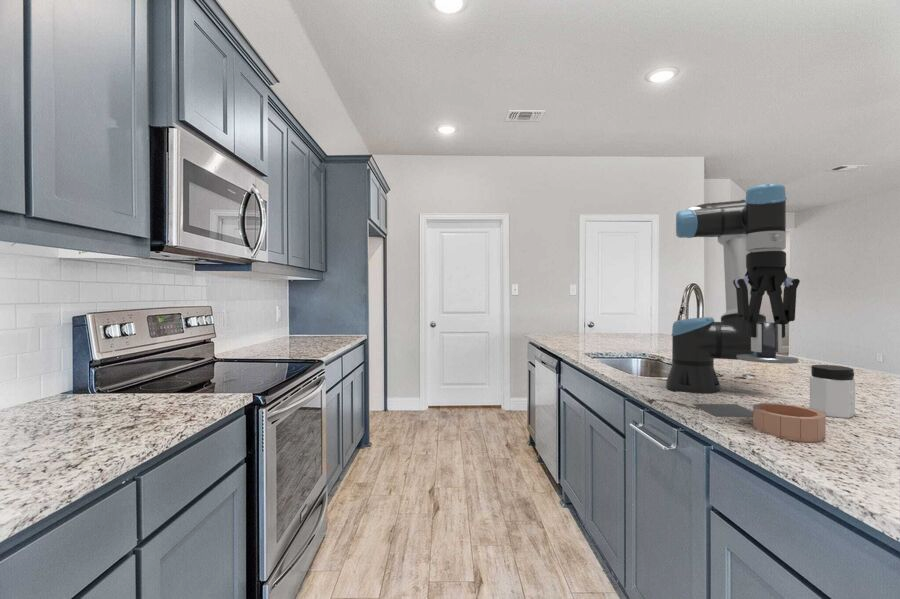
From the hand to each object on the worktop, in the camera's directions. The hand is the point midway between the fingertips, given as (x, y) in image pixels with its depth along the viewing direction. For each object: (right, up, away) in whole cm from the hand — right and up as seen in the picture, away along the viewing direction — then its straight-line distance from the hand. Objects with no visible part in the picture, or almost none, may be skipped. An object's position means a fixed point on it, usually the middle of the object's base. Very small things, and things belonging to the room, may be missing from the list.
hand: (766, 351), depth 98 cm
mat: (-1, -18, +12) cm, 21 cm away
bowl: (+2, -18, -4) cm, 18 cm away
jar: (+25, -18, +10) cm, 32 cm away
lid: (0, -2, 0) cm, 2 cm away
